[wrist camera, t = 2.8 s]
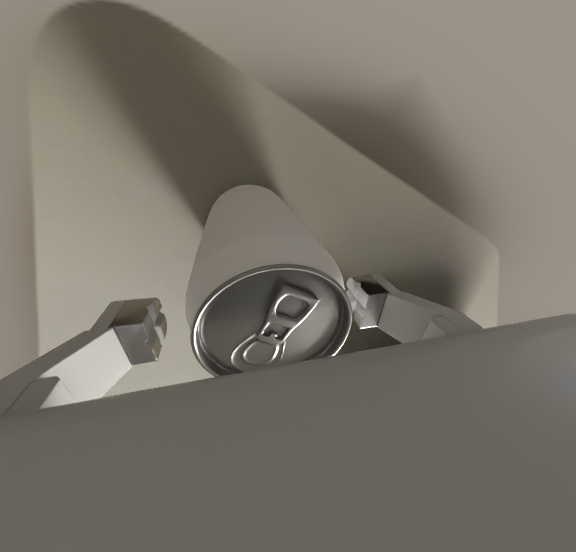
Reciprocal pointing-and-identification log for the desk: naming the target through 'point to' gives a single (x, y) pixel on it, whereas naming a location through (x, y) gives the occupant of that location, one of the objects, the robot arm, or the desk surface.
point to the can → (263, 288)
